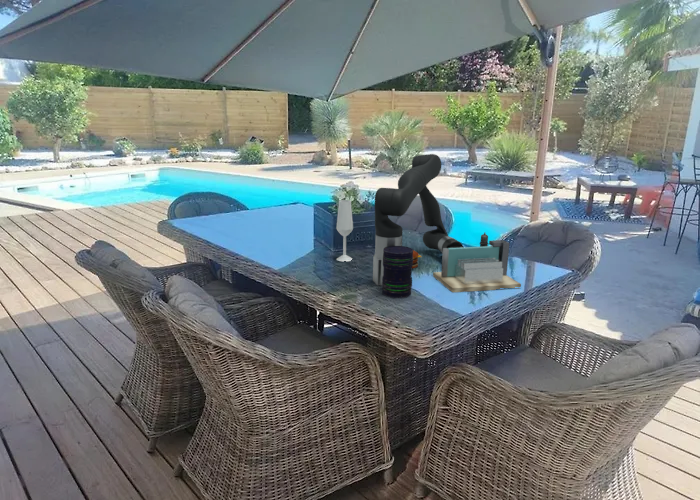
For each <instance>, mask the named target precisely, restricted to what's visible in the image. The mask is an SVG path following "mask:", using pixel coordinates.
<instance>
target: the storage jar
mask: <svg viewBox="0 0 700 500" xmlns="http://www.w3.org/2000/svg"><path fill="white" fill-rule="evenodd" d="M413 250H414V249H413V248H412V247H410V246H404V245H402V246H388V247H385V248H384V249H383V252H384V253H383V266H384V271H383V277H382V286H381V288H382V290H381V293H382V295H383V296H385V297H387V298H393V299H405V298H408V297H410V296H411V295H412V287H413V277H412V272H413V270H412V266H413Z"/></svg>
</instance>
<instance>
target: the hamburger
mask: <svg viewBox="0 0 700 500" xmlns="http://www.w3.org/2000/svg"><path fill="white" fill-rule="evenodd" d="M419 258H423V256H422V255H420V254H419V253H418V252H417V251H416V250H414V249H413V266H412V269H416V268H418V267H419V264H418V261H419Z"/></svg>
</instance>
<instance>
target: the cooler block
mask: <svg viewBox="0 0 700 500" xmlns="http://www.w3.org/2000/svg"><path fill="white" fill-rule="evenodd" d="M488 243H489V244H488V245H489V246H494V247H495V246H498V247H499V258H498V259H495V258H494V257H492V258H473V259H457V264H456V269H455V278H456V279H458V280H459V281H460V282H462V283H463V284H481V283H497V282H502V278H503V275H507V274H508V263H509V251H510V242H508V241H506V240H504V239H501V240H500V239H498V240H496V239H495V240H488ZM507 276H508V275H507Z"/></svg>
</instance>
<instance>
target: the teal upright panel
mask: <svg viewBox="0 0 700 500" xmlns="http://www.w3.org/2000/svg"><path fill="white" fill-rule="evenodd" d="M441 255H442V259H441V271H440V272H441V276H442V277H448V276H455V269H456V264H457V259H473V258H492V257H494V258H495V259H498V258H499V247H498V246H495V247H494V246H492V245H489V246H485V247H480V246H470V247H469V246H468V247H467V246H466V247H465V246H463V248H443V254H442V253H441Z"/></svg>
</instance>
